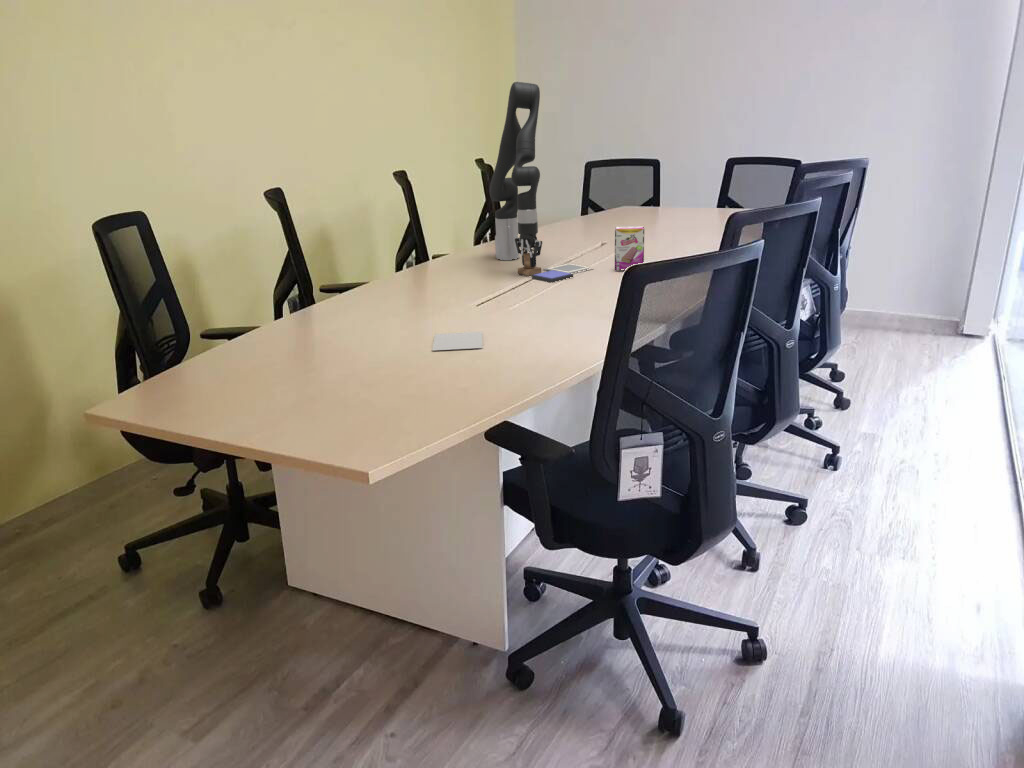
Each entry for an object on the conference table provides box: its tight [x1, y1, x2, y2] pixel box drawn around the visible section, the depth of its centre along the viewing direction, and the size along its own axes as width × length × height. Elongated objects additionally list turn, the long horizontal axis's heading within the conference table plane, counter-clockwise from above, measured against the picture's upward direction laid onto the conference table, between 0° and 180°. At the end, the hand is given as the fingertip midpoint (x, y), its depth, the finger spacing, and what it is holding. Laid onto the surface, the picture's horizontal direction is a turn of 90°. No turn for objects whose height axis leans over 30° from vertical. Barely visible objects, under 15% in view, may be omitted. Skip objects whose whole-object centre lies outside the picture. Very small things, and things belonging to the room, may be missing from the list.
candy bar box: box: [614, 225, 645, 272], centre depth 317 cm, size 11×5×16 cm, turn 84°
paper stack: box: [431, 331, 483, 351], centre depth 235 cm, size 23×25×1 cm
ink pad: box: [531, 270, 574, 283], centre depth 312 cm, size 11×11×2 cm
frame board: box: [542, 262, 591, 273], centre depth 325 cm, size 14×14×1 cm
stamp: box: [516, 252, 542, 277], centre depth 320 cm, size 6×6×8 cm
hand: (529, 265), depth 320 cm, fingers closed on stamp, 4 cm apart
